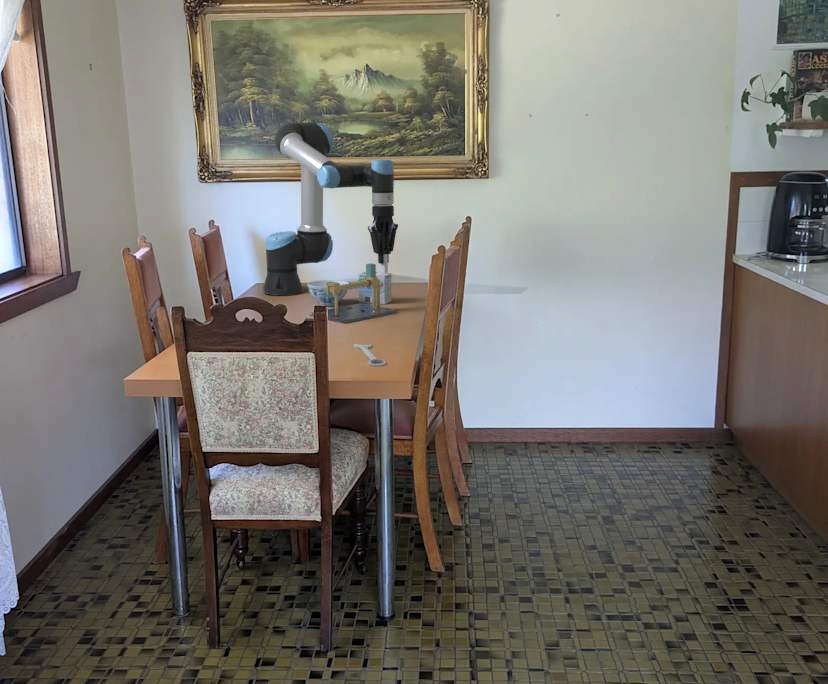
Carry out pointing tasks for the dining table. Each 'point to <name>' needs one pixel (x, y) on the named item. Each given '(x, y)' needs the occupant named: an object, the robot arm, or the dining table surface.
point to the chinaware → (325, 292)
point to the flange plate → (357, 312)
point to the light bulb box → (385, 288)
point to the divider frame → (336, 288)
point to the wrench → (370, 355)
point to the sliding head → (372, 279)
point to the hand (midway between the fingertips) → (383, 272)
